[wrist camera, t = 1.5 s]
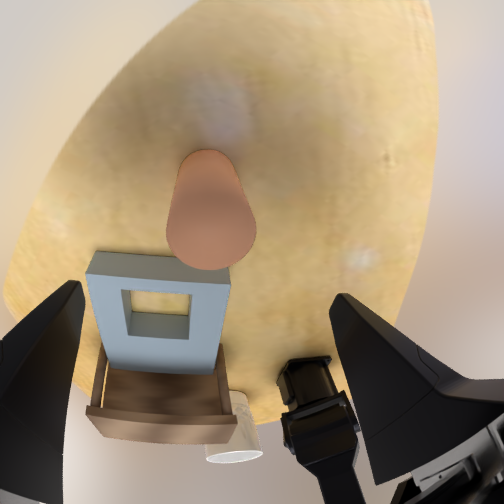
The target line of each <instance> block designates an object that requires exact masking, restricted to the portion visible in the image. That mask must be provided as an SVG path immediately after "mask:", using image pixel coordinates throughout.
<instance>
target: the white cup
mask: <svg viewBox="0 0 504 504" xmlns="http://www.w3.org/2000/svg"><path fill="white" fill-rule="evenodd" d="M229 394H230V400H231V406H232V412H233V415H236V416H237V421H238V425H237V427H236V429H235V431H234V433H233V435H232V436H231V438H230V440H229V442H228V444H205V452H206V460H207V461H209V462H214V463H233V462H241V461H246V460H251V459H254V458H257V457H259V456H261V455H262V454H263V451H262V447H261V444H260V441H259V436H258V433H257V429H256V426H255V422H254V419H253V416H252V412H251V410H250V407H249V403H248V399H247V397H246V395H245V394H244V393H242V392H239V391H231V390H229Z"/></svg>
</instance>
